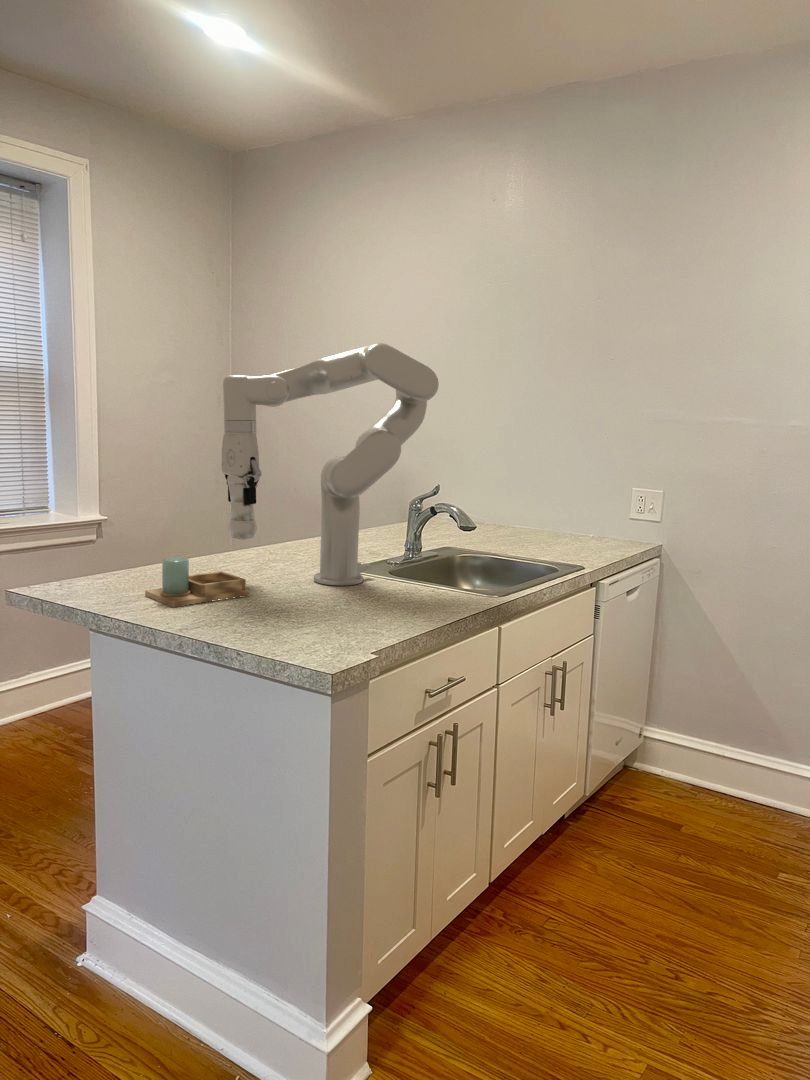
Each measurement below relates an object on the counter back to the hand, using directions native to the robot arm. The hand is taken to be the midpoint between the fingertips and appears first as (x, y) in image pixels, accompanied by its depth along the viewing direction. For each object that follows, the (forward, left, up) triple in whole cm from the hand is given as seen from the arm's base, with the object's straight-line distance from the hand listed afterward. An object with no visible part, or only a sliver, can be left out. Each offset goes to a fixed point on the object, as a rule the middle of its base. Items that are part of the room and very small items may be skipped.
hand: (242, 502), depth 194 cm
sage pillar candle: (+21, +7, -18) cm, 29 cm away
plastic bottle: (0, 0, -9) cm, 9 cm away
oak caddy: (+16, +7, -20) cm, 26 cm away
